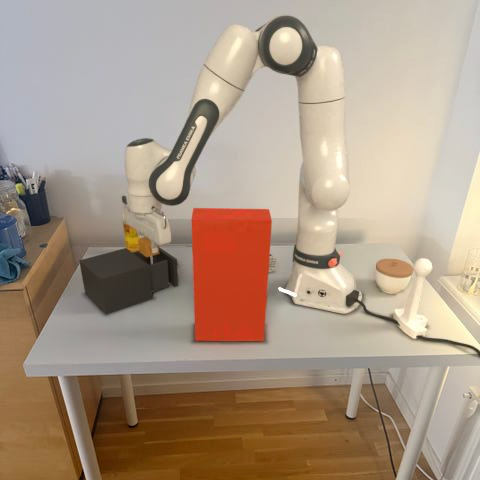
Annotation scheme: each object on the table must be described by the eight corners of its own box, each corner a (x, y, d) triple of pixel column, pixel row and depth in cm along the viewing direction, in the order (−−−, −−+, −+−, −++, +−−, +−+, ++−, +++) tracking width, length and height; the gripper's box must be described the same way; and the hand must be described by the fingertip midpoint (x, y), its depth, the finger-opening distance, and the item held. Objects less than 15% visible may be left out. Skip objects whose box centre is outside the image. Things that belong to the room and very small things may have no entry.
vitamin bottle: (123, 256, 156) (117, 213, 147) (133, 249, 160) (128, 207, 152) (138, 259, 154) (134, 216, 146) (148, 252, 159) (144, 210, 150)
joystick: (389, 316, 128) (405, 250, 117) (413, 313, 130) (431, 248, 119) (410, 339, 119) (429, 270, 108) (435, 336, 121) (457, 267, 110)
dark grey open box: (129, 280, 142) (126, 247, 136) (152, 298, 133) (149, 264, 127) (85, 293, 134) (79, 260, 128) (106, 314, 125) (100, 279, 119)
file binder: (196, 323, 123) (193, 207, 105) (261, 324, 123) (268, 208, 106) (195, 341, 116) (191, 220, 98) (263, 342, 117) (271, 221, 99)
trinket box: (413, 288, 142) (420, 260, 137) (398, 301, 135) (405, 273, 130) (381, 277, 148) (387, 250, 143) (365, 289, 141) (370, 261, 136)
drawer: (168, 266, 148) (166, 240, 143) (190, 281, 140) (189, 255, 135) (118, 281, 139) (115, 254, 134) (138, 299, 131) (135, 271, 126)
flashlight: (241, 254, 159) (241, 240, 156) (255, 252, 161) (255, 237, 158) (261, 273, 148) (262, 258, 145) (276, 270, 150) (277, 255, 147)
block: (159, 253, 133) (158, 240, 131) (146, 257, 131) (145, 243, 129) (152, 248, 136) (151, 235, 134) (139, 252, 134) (138, 238, 131)
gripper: (175, 210, 120) (177, 259, 128) (137, 190, 133) (141, 235, 141) (154, 215, 117) (158, 265, 125) (117, 194, 130) (123, 239, 138)
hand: (149, 248), depth 133 cm, fingers closed on block, 4 cm apart
